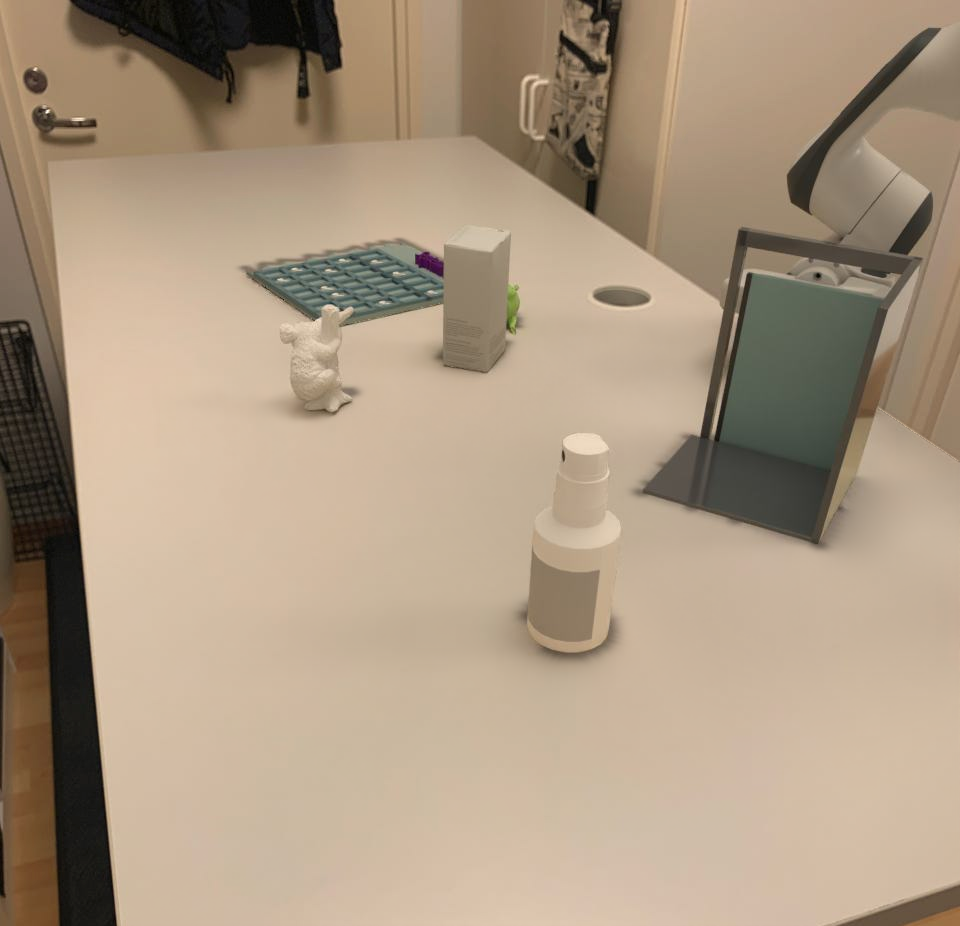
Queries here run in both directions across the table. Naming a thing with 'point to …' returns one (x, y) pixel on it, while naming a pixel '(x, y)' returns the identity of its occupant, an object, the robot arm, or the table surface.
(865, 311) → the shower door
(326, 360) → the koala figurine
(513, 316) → the green animal figurine
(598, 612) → the spray bottle
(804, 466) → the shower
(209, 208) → the table surface
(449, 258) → the cosmetic box
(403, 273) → the calendar
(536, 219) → the table surface
